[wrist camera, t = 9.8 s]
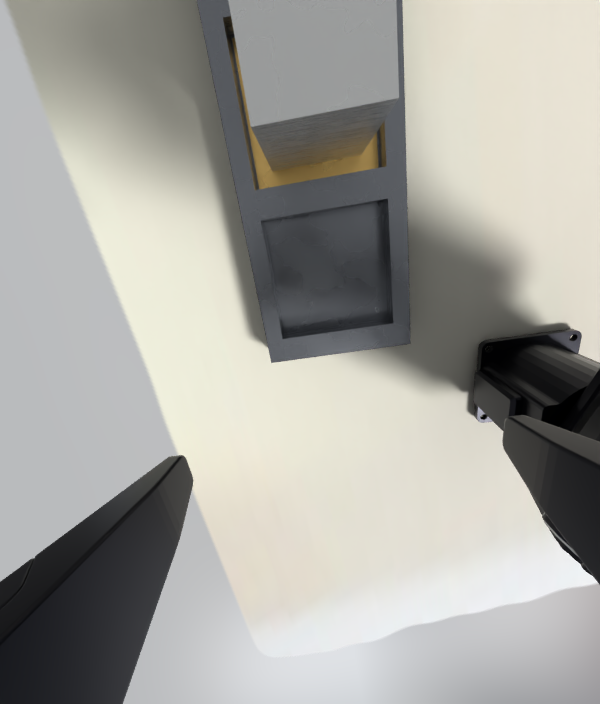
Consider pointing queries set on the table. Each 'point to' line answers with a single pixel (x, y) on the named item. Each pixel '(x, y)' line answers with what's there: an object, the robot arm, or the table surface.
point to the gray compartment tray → (319, 223)
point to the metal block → (316, 75)
